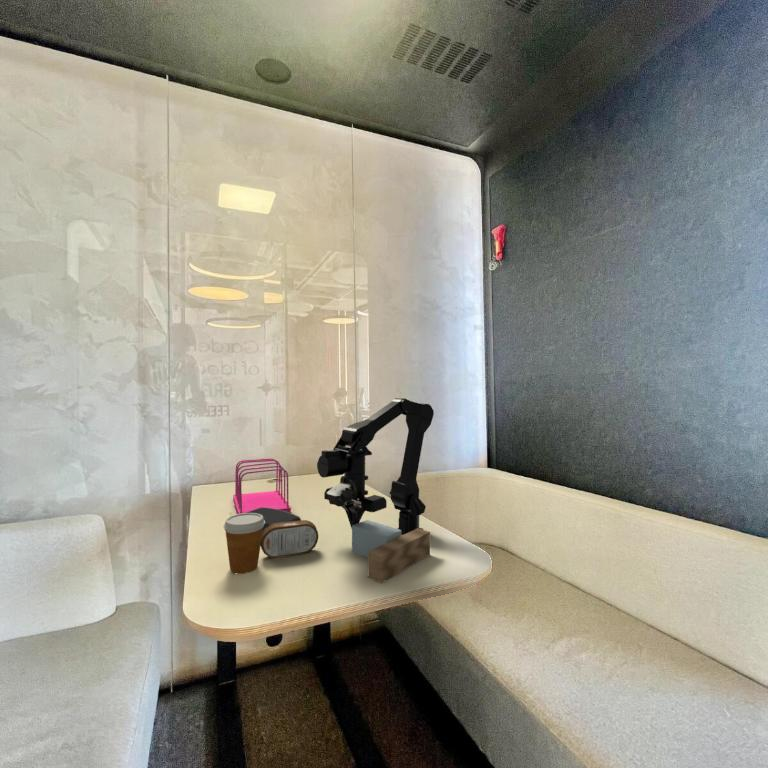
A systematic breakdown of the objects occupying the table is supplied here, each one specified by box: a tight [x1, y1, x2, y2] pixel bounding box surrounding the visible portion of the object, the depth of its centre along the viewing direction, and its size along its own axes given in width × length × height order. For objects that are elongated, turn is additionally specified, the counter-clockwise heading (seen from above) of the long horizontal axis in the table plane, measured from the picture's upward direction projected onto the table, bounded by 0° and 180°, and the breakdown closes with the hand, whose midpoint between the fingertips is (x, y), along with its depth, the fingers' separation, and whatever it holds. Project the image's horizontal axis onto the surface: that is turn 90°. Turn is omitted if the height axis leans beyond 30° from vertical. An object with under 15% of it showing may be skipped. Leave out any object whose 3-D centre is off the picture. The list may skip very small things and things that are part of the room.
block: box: [351, 519, 402, 559], centre depth 105 cm, size 6×12×7 cm, turn 50°
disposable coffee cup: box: [222, 513, 265, 575], centre depth 96 cm, size 10×10×12 cm
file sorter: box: [232, 458, 292, 514], centre depth 146 cm, size 17×25×16 cm
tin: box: [260, 519, 319, 559], centre depth 104 cm, size 15×3×8 cm, turn 113°
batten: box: [367, 527, 431, 584], centre depth 98 cm, size 20×4×6 cm, turn 140°
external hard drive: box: [246, 507, 302, 532], centre depth 124 cm, size 13×19×4 cm
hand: (353, 529), depth 108 cm, fingers closed
